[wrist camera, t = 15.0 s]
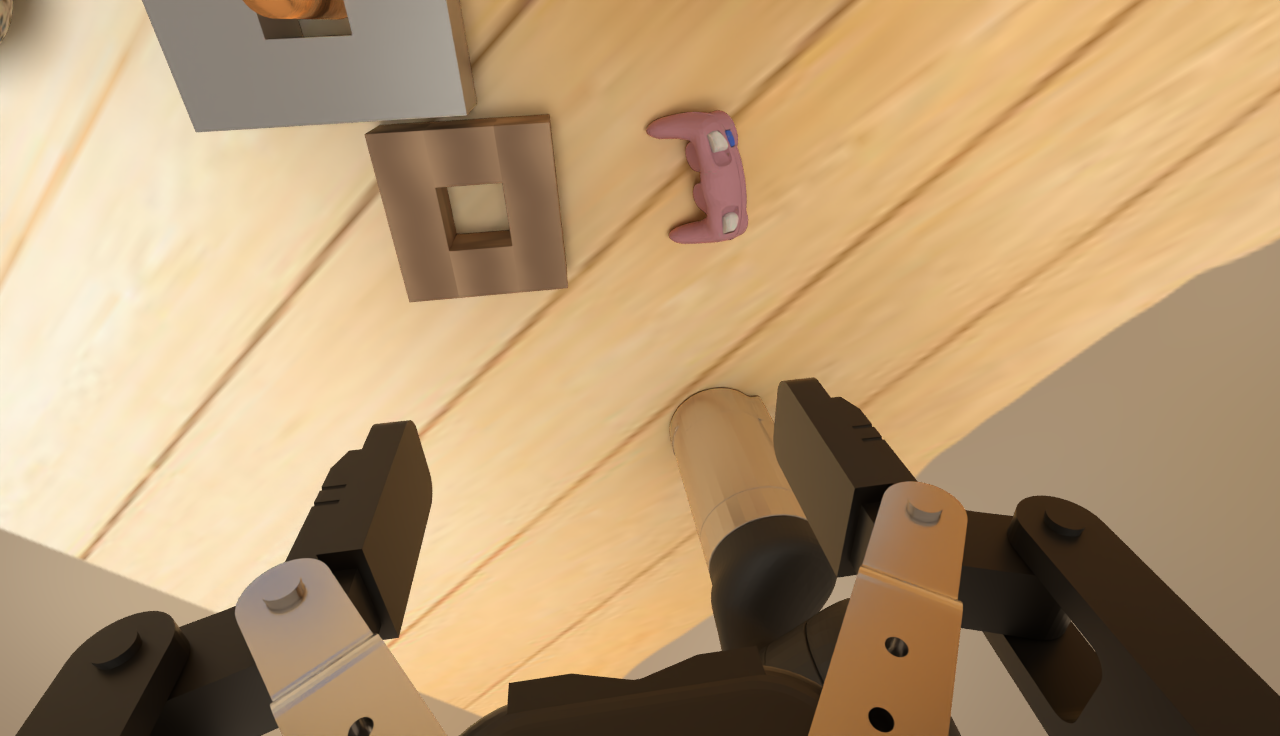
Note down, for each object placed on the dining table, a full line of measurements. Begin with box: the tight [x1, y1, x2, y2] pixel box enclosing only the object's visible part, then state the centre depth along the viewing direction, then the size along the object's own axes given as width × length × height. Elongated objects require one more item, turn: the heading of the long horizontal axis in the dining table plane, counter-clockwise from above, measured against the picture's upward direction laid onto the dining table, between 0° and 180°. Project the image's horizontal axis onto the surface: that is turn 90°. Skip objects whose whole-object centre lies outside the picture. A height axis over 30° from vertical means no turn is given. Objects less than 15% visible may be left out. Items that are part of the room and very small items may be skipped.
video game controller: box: [646, 110, 748, 244], centre depth 44 cm, size 10×5×7 cm, turn 13°
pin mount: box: [365, 114, 568, 302], centre depth 43 cm, size 12×12×4 cm
